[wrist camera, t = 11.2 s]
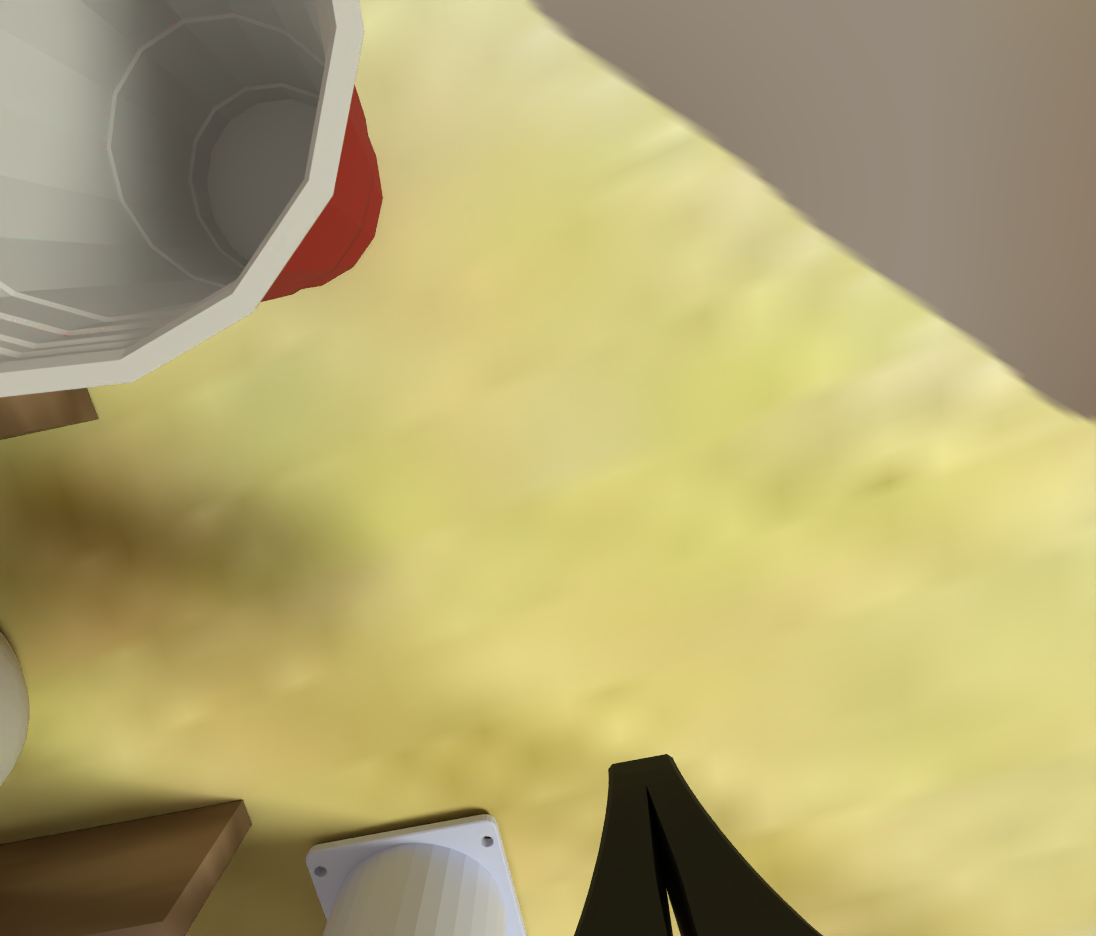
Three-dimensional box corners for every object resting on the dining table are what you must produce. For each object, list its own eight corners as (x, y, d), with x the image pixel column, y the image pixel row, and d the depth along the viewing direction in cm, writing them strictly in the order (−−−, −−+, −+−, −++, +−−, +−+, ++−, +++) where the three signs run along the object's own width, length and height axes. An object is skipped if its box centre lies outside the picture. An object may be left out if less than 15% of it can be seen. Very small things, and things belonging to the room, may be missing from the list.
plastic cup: (385, 421, 20) (165, 533, 8) (85, 272, 19) (-660, 156, 7) (526, 119, 18) (497, -294, 6) (200, -70, 17) (-577, -1008, 5)
